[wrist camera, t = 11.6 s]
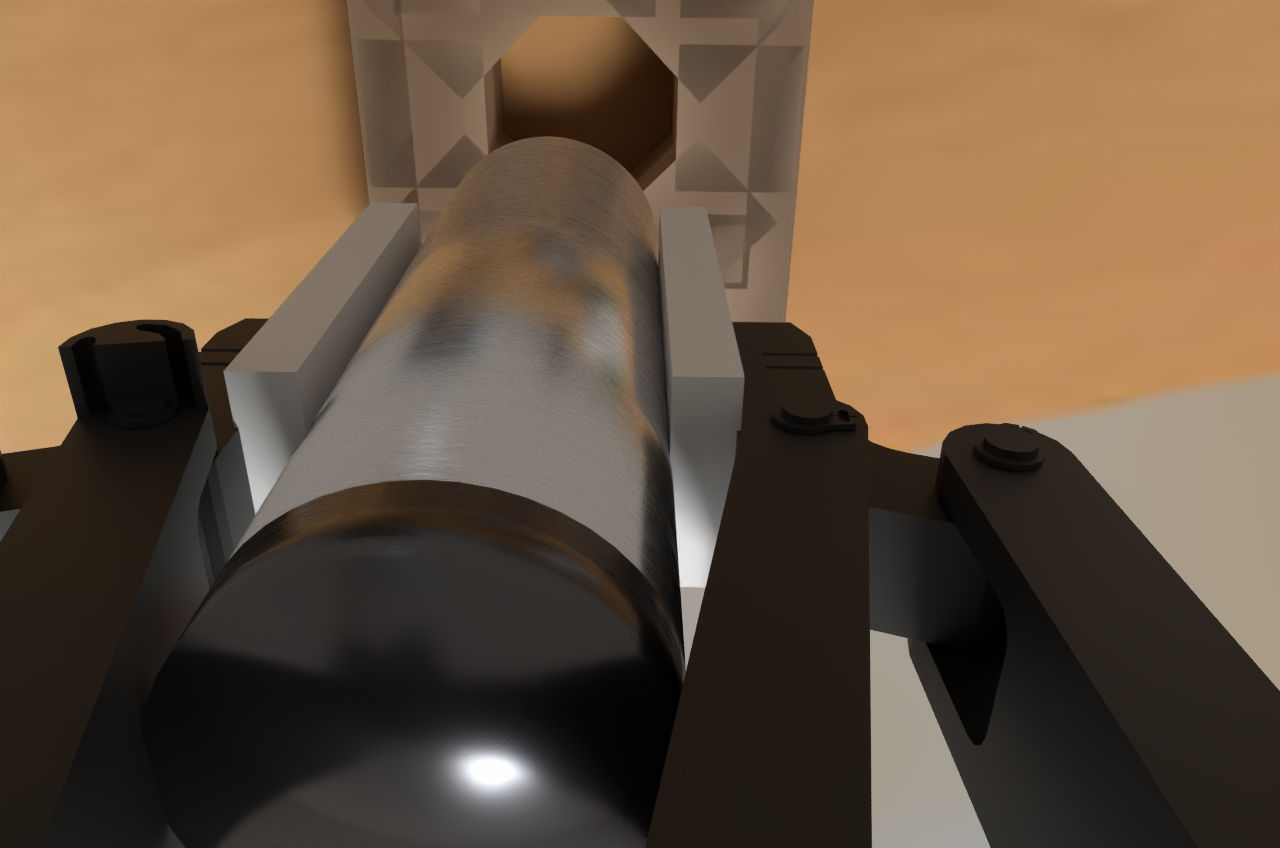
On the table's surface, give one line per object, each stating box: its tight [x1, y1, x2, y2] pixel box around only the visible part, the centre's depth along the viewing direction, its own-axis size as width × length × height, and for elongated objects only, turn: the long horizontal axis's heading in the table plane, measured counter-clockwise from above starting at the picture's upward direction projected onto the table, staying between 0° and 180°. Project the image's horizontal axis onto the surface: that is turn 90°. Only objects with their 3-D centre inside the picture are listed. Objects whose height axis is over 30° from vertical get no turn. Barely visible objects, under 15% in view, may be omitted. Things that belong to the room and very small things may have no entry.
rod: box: [142, 136, 686, 848], centre depth 13 cm, size 4×4×13 cm
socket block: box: [346, 0, 814, 322], centre depth 31 cm, size 13×13×4 cm
